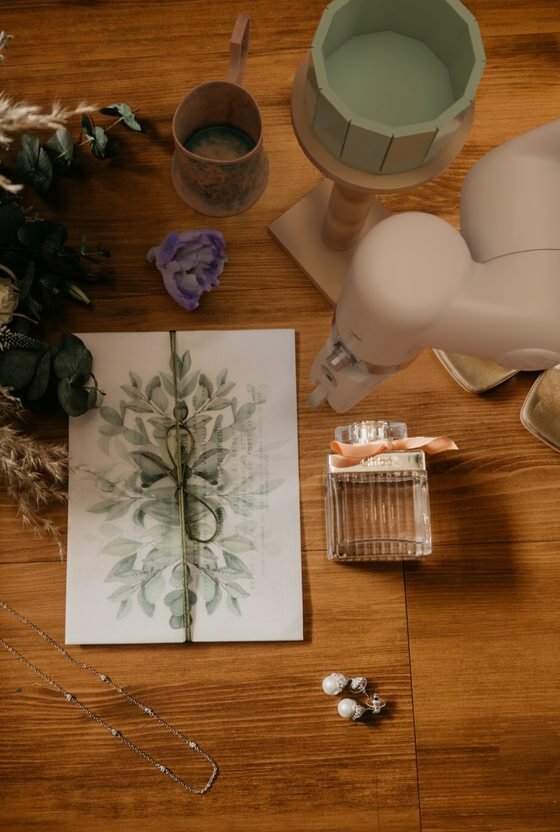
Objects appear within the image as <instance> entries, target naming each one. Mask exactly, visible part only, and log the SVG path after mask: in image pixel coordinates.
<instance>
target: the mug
mask: <svg viewBox="0 0 560 832" xmlns="http://www.w3.org/2000/svg"><path fill="white" fill-rule="evenodd" d="M250 39H251V15H250V14H246V13H242V12H239V13H238V15H237V17H236V20H235V22H234V25H233V29H232V33H231V36H230V39H229V60H228V67H227V73H226V77H225V79H213V80H207V81H204V82H202V83H200V84H198V85H196V86H195V87H193V88H192V89H191V90H189V92H187V93H186V94H185V95H184V97H183V98H182V99H181V101H180V102H179V104H178V106H177V107H176V110H175V112H174V115H173V118H172V122H171V123H172V126H171V128H172V136H173V140H174V141H173V142H174V147H175V150H174V152H173V155H172V157H171V162H170V163H171V164H170V175H171V181H172V184H173V187H174V189H175V191H176V194H177V195H178V197H179V198H180V199H181V200H182V202H183V203H184V204H185V205H186V206H188V208H190V209H191V210H193V211H194V212H196V213H198V214H201V215H203V216H205V217H206V216H207V217H211V218H229V217H233V216H237V215H239V214H241V213H243V212H245V211H247V210H249V209H250V208H251V207H253V206H254V205H255V204H256V203H257V202H258V201H259V199H260V198H261V196H263V194H264V191H265V190H266V187H267V184H268V181H269V174H270V163H269V158H268V154H267V152H266V149H265V147H264V145H263V141H264V139H263V137H264V119H263V114H262V111H261V108H260V105H259V103H258V102H257V100H256V98H255V97H254V96H253V94H252V93H251V92H249V90H248V89H246V88H245V87H243V86H242V84H243V81H244V80H243V79H244V75H245V70H246V65H247V61H248V56H249V49H250Z"/></svg>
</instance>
